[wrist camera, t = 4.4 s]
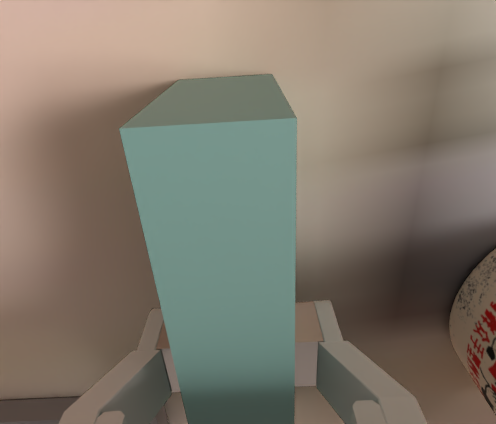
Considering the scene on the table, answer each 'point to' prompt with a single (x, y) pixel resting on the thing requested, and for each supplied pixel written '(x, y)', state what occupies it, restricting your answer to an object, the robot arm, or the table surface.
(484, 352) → the teacup with lid
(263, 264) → the frame bar
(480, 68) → the table surface
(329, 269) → the table surface
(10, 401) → the display stand
